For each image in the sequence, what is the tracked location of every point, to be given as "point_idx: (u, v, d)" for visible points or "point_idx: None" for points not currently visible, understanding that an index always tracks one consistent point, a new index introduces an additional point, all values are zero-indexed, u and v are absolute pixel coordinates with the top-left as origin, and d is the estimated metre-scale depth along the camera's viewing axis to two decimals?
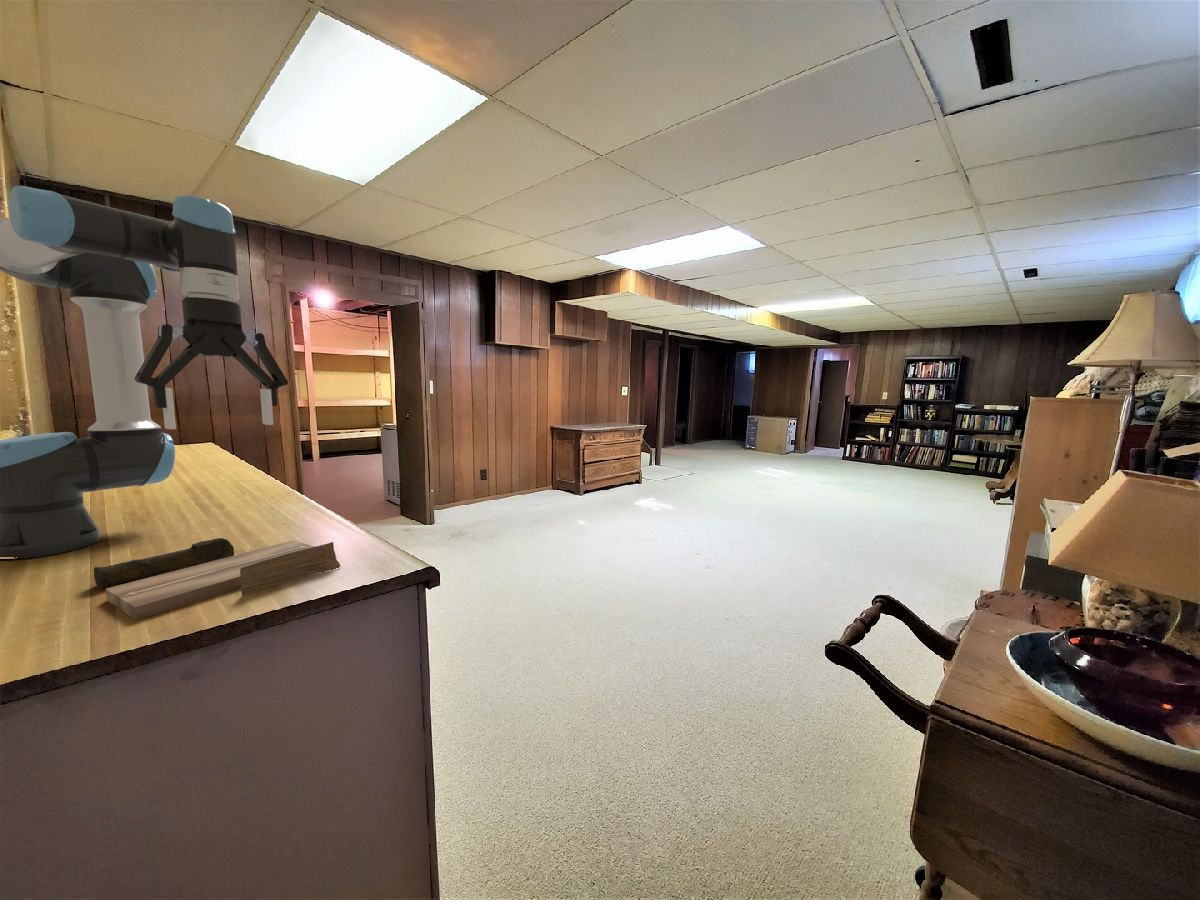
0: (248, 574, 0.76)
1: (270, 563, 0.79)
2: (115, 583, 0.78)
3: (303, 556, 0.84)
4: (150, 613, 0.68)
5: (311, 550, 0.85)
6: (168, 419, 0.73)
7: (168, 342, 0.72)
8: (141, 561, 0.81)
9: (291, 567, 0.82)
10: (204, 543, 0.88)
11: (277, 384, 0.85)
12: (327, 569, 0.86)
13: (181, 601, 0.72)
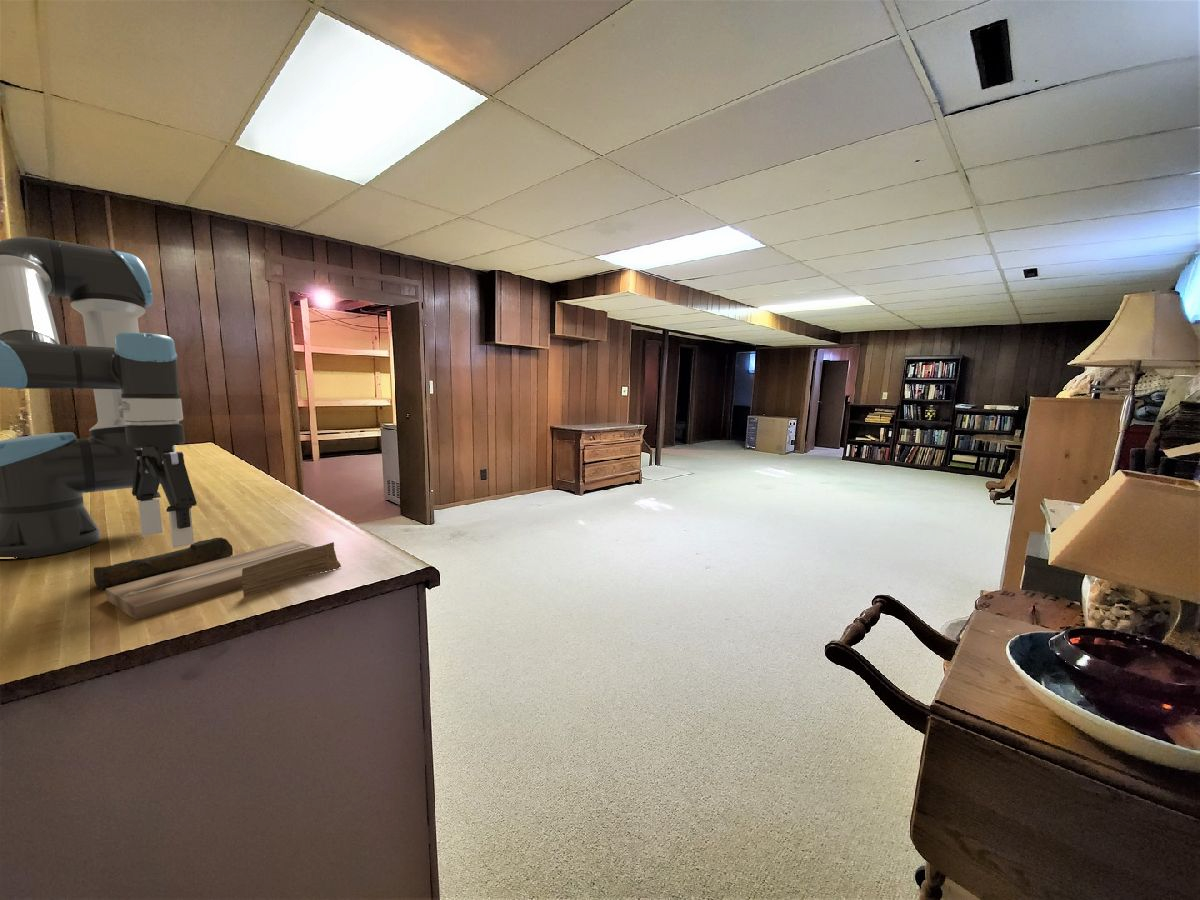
0: (250, 574, 0.76)
1: (271, 564, 0.79)
2: (116, 583, 0.78)
3: (304, 557, 0.84)
4: (150, 613, 0.68)
5: (312, 551, 0.85)
6: None
7: (136, 463, 0.84)
8: (141, 561, 0.81)
9: (292, 568, 0.82)
10: (203, 542, 0.88)
11: (170, 507, 0.78)
12: (328, 569, 0.86)
13: (181, 601, 0.72)
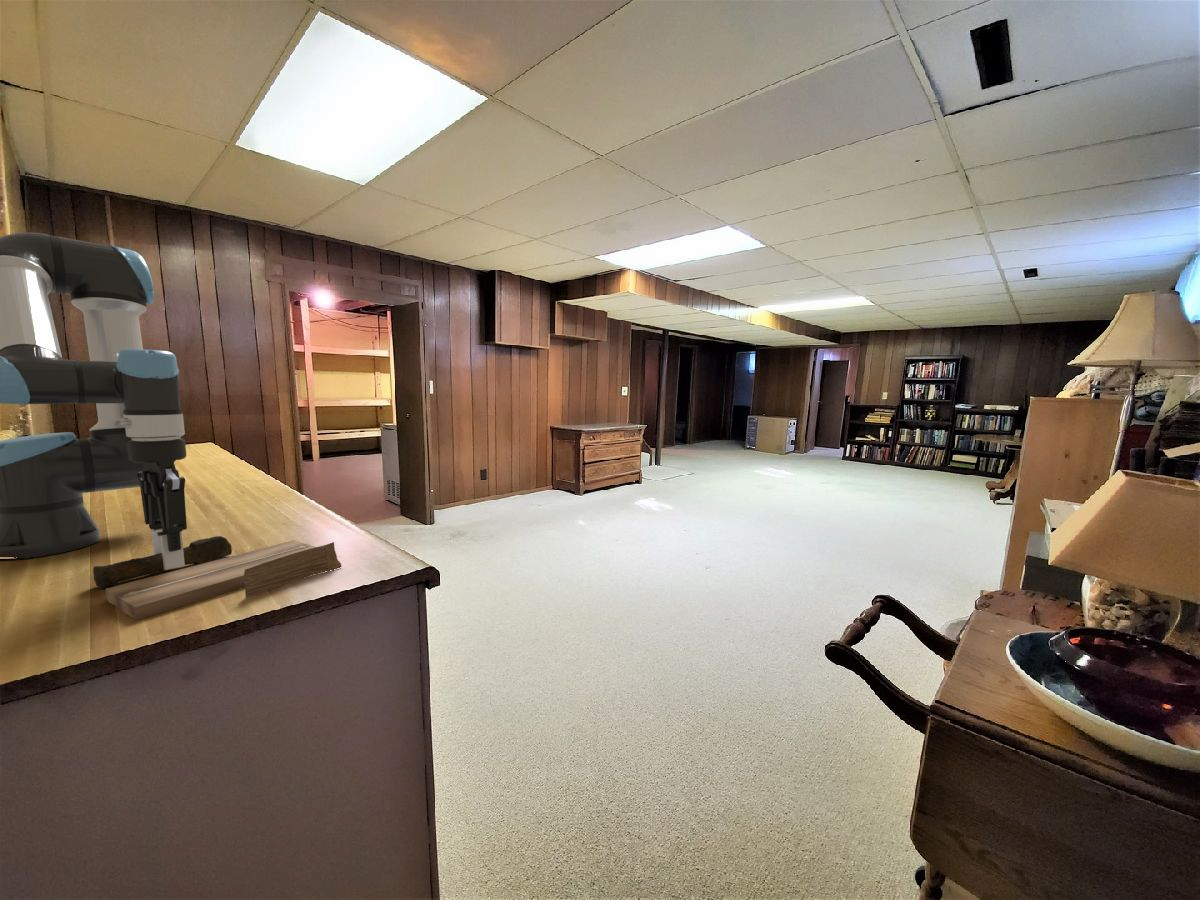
0: (252, 575, 0.76)
1: (273, 565, 0.79)
2: (116, 582, 0.78)
3: (305, 557, 0.84)
4: (150, 613, 0.68)
5: (313, 551, 0.85)
6: None
7: (142, 486, 0.84)
8: (141, 560, 0.81)
9: (293, 568, 0.82)
10: (203, 541, 0.88)
11: (161, 533, 0.81)
12: (329, 569, 0.86)
13: (181, 601, 0.72)
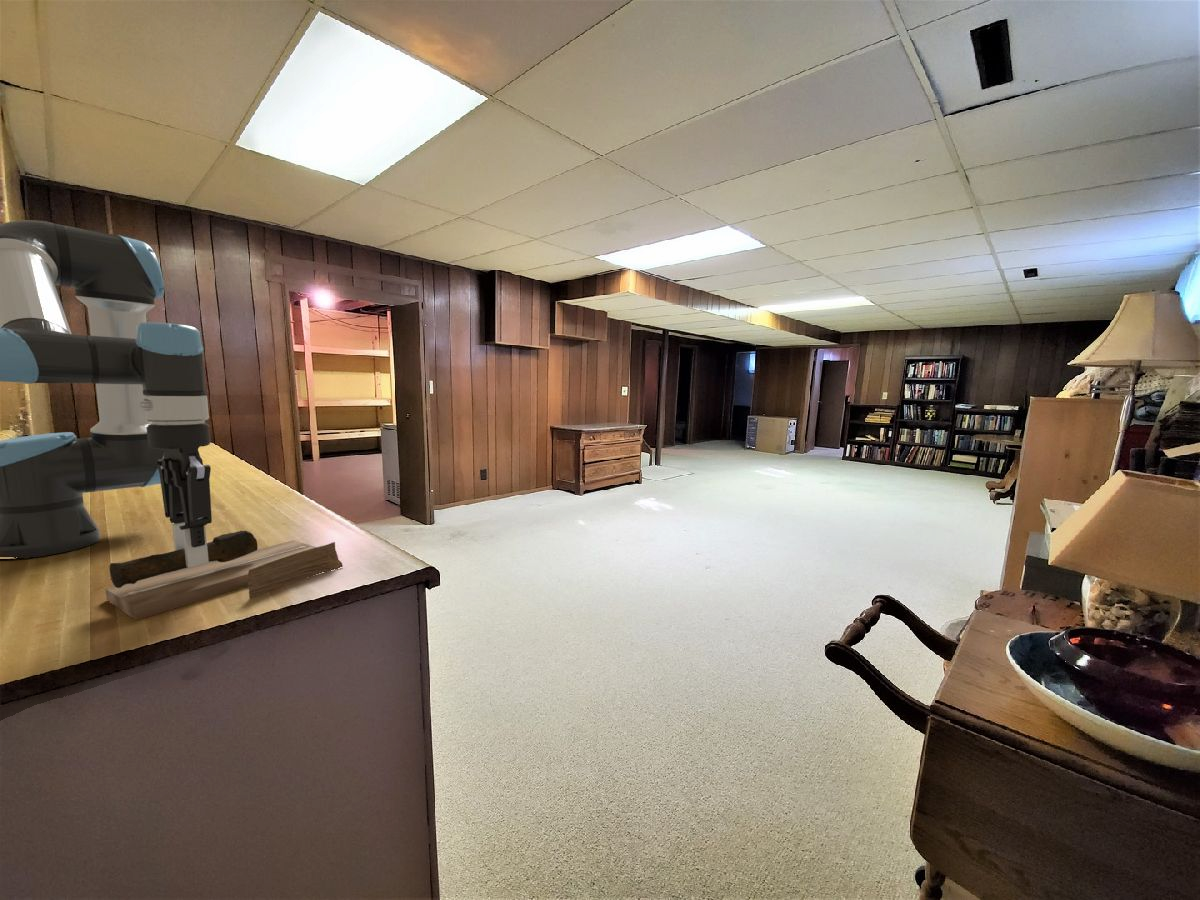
0: (256, 576, 0.75)
1: (276, 565, 0.78)
2: (135, 580, 0.70)
3: (306, 557, 0.84)
4: (150, 613, 0.68)
5: (314, 551, 0.85)
6: None
7: (162, 475, 0.77)
8: (162, 556, 0.73)
9: (295, 568, 0.82)
10: (227, 536, 0.81)
11: (184, 526, 0.73)
12: (330, 569, 0.86)
13: (181, 601, 0.72)
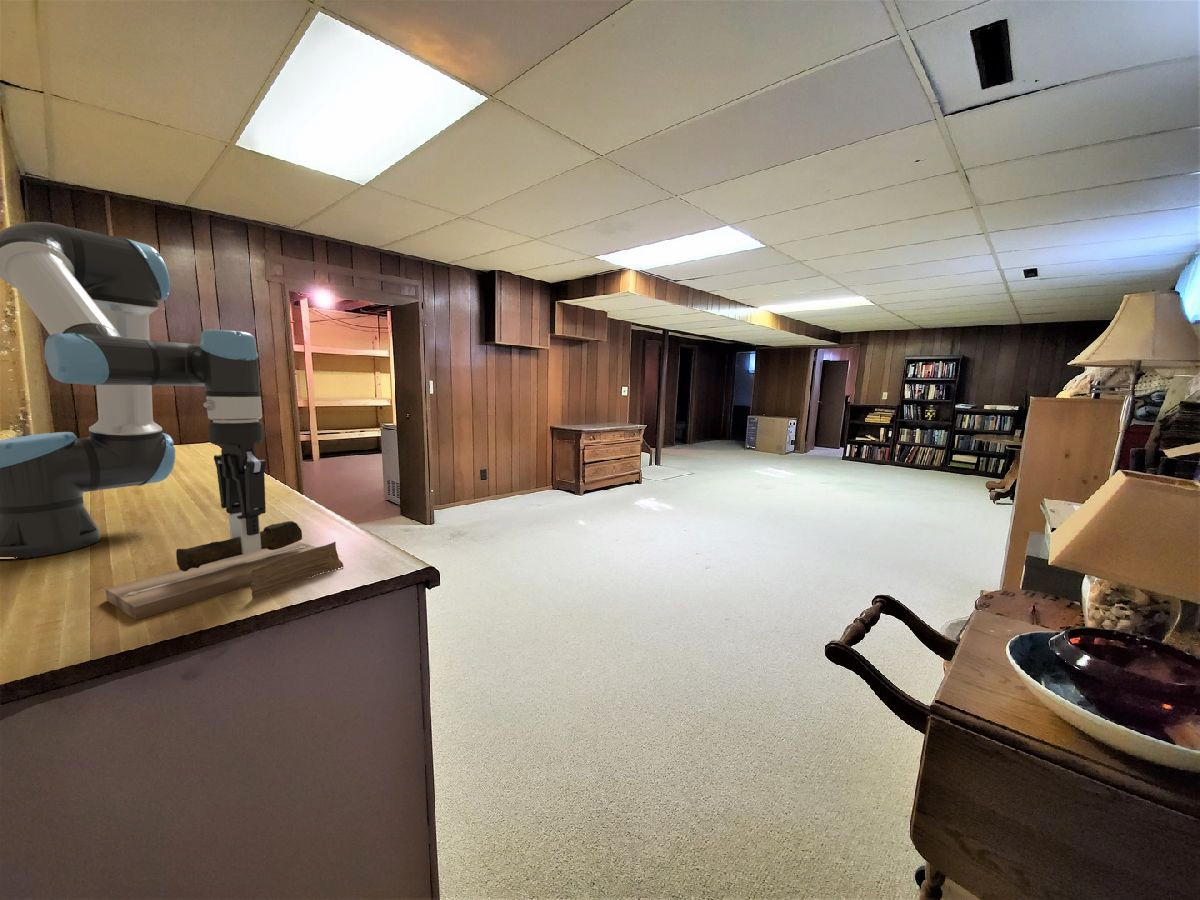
0: (258, 576, 0.75)
1: (278, 565, 0.78)
2: (199, 565, 0.77)
3: (308, 557, 0.83)
4: (150, 613, 0.68)
5: (315, 551, 0.85)
6: None
7: (219, 469, 0.83)
8: (221, 543, 0.80)
9: (297, 568, 0.82)
10: (276, 526, 0.88)
11: (241, 516, 0.80)
12: (331, 569, 0.86)
13: (181, 601, 0.72)
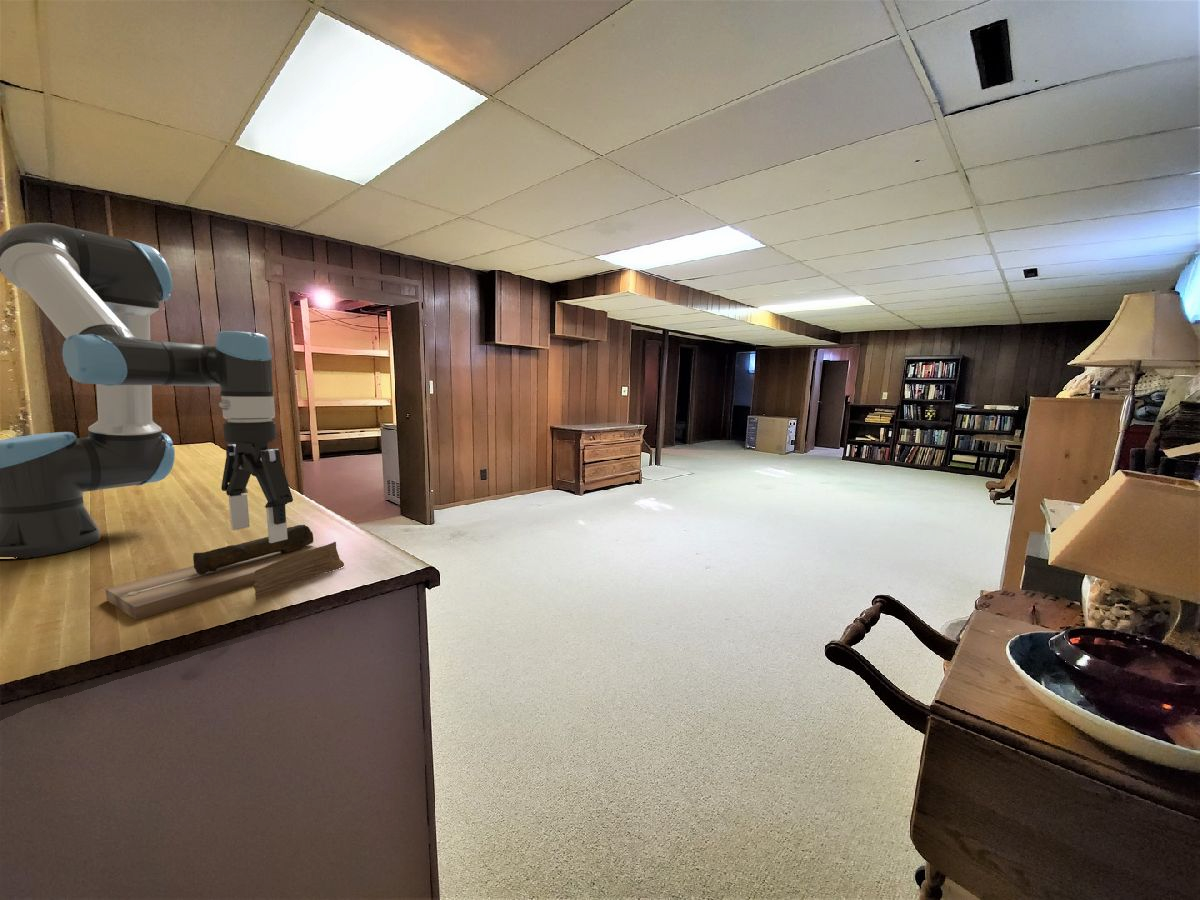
0: (262, 576, 0.75)
1: (280, 565, 0.78)
2: (215, 568, 0.79)
3: (309, 557, 0.83)
4: (150, 613, 0.68)
5: (316, 551, 0.85)
6: (232, 522, 0.88)
7: (228, 459, 0.86)
8: (236, 547, 0.82)
9: (298, 568, 0.81)
10: (289, 529, 0.90)
11: (269, 503, 0.79)
12: (332, 569, 0.86)
13: (181, 601, 0.72)
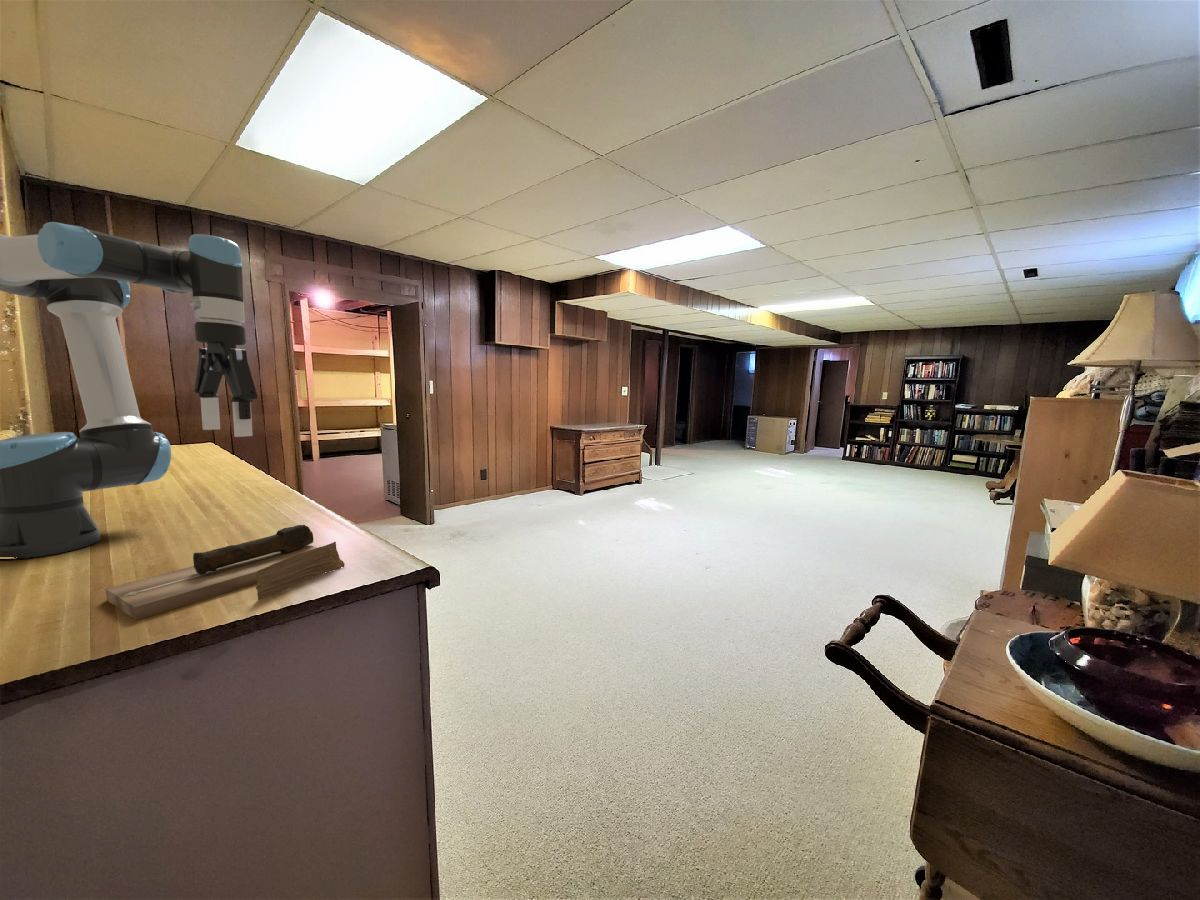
0: (263, 577, 0.75)
1: (282, 565, 0.78)
2: (215, 568, 0.79)
3: (309, 557, 0.83)
4: (150, 613, 0.68)
5: (317, 551, 0.85)
6: (203, 422, 0.94)
7: (200, 362, 0.92)
8: (236, 547, 0.82)
9: (299, 568, 0.81)
10: (289, 529, 0.90)
11: (234, 398, 0.85)
12: (333, 569, 0.86)
13: (181, 601, 0.72)
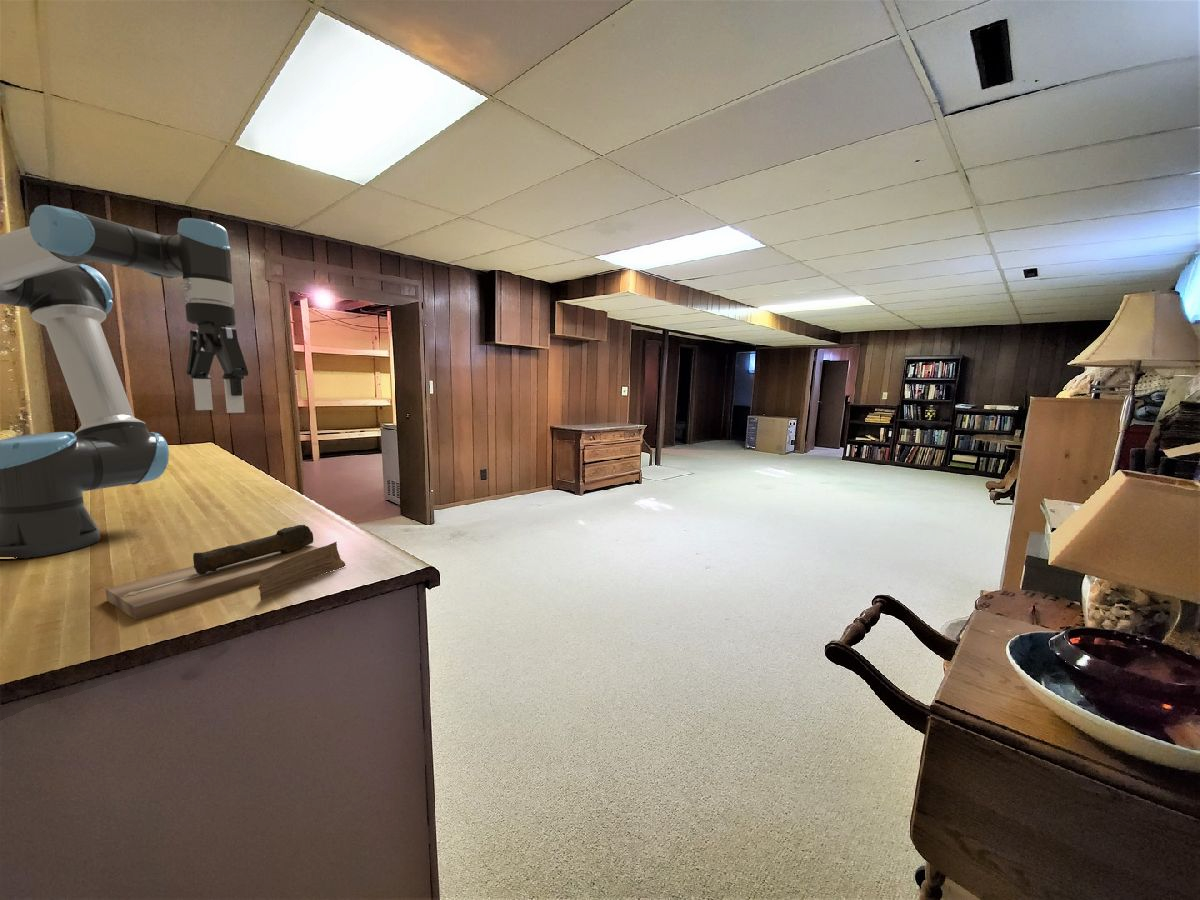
0: (266, 577, 0.75)
1: (284, 566, 0.78)
2: (215, 568, 0.79)
3: (311, 557, 0.83)
4: (150, 613, 0.68)
5: (318, 551, 0.85)
6: None
7: (192, 343, 0.95)
8: (236, 547, 0.82)
9: (301, 569, 0.81)
10: (289, 529, 0.90)
11: (225, 374, 0.88)
12: (334, 569, 0.86)
13: (181, 601, 0.72)
